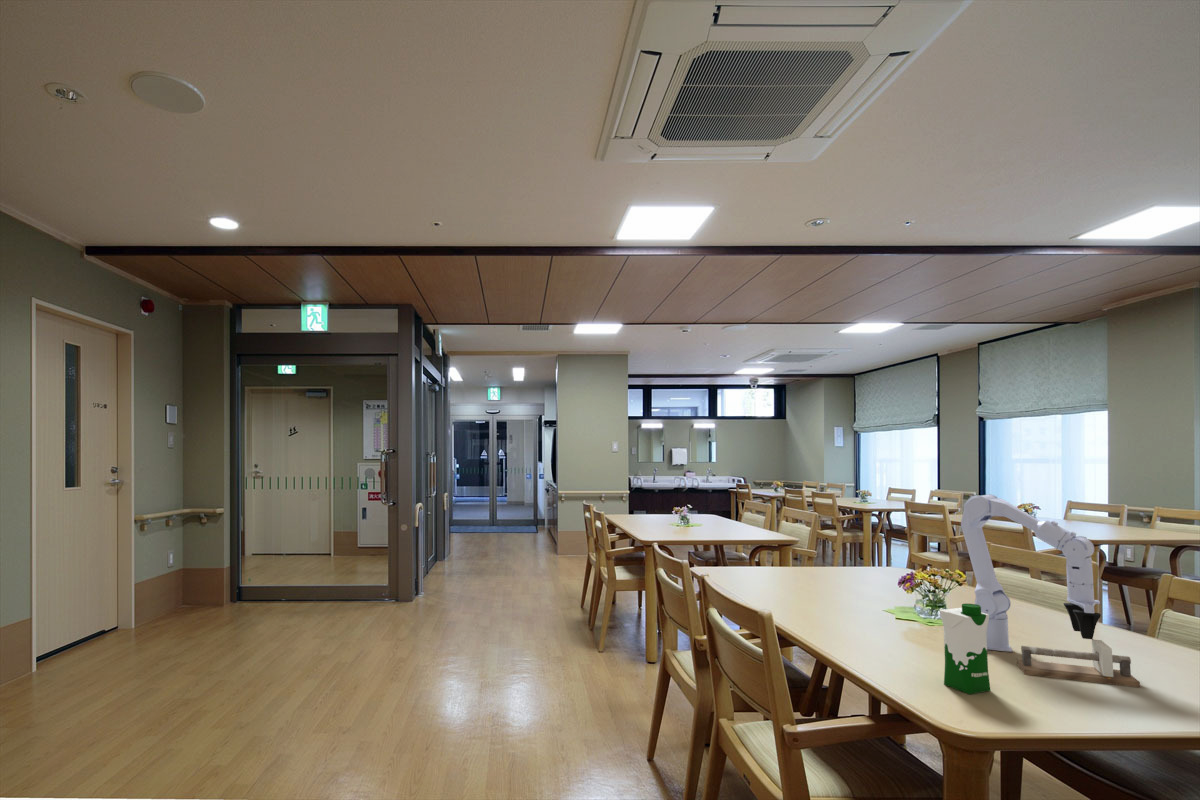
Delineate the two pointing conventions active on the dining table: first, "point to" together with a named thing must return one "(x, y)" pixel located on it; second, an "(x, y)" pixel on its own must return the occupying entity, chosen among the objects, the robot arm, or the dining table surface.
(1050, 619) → the dining table surface
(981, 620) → the milk carton
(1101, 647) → the collar
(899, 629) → the dining table surface
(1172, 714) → the dining table surface
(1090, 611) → the robot arm
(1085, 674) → the slider rail
